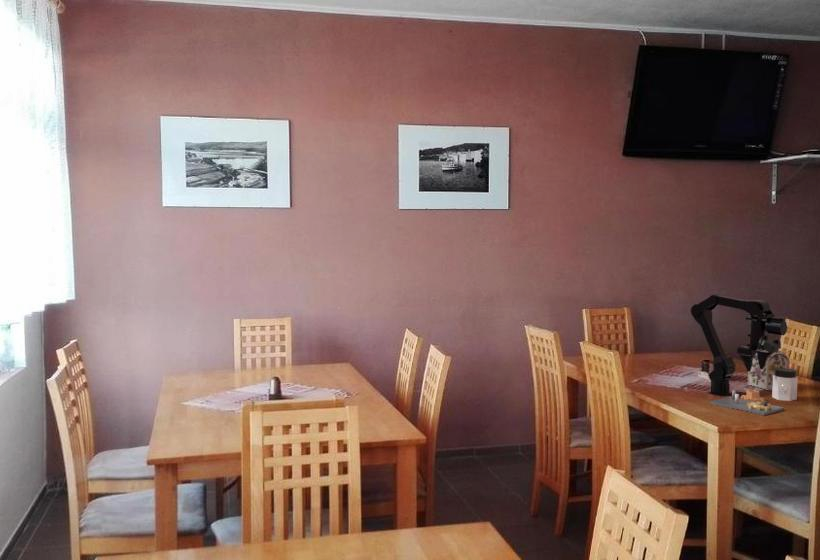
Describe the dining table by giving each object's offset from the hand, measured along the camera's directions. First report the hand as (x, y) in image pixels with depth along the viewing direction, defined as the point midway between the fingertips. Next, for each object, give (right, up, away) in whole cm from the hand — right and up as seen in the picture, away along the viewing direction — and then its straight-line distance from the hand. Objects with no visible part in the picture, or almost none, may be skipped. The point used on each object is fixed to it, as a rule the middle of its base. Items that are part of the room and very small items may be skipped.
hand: (755, 370), depth 298 cm
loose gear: (0, -12, +2) cm, 12 cm away
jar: (+14, -12, +4) cm, 19 cm away
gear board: (-8, -13, -10) cm, 18 cm away
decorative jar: (+18, -11, +26) cm, 33 cm away
